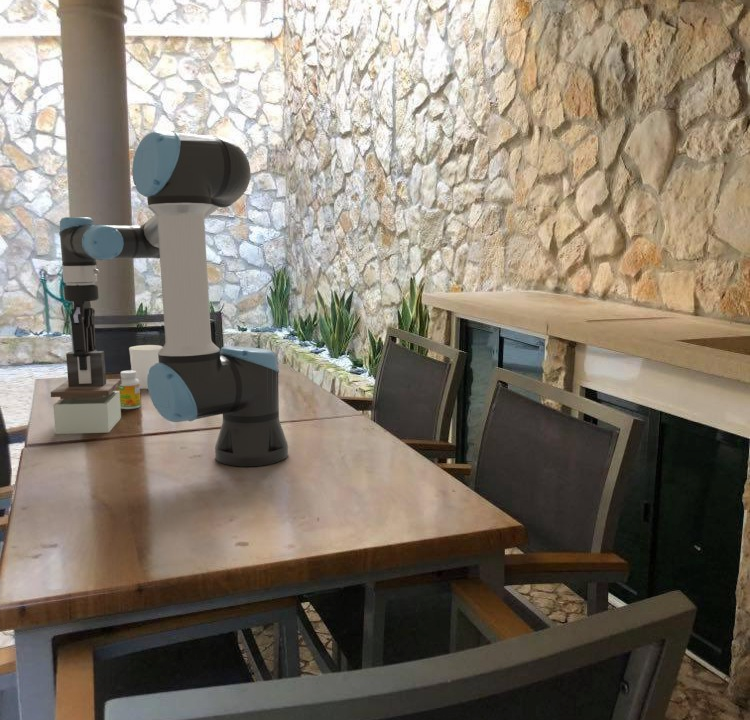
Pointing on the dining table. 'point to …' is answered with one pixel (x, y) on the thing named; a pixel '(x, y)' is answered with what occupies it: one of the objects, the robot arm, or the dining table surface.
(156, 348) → the candle holder
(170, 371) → the robot arm
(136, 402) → the supplement bottle
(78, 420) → the sage box
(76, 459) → the dining table surface
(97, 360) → the walnut lid
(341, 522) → the dining table surface
